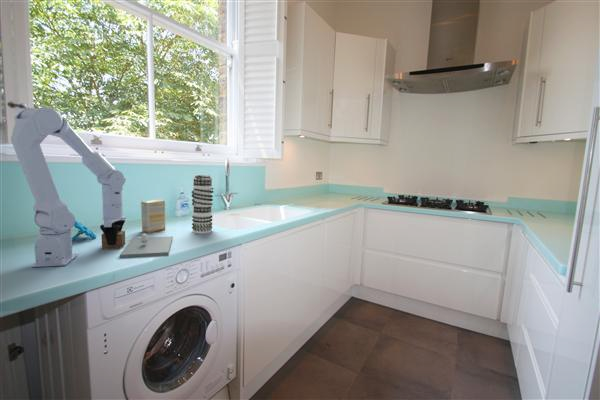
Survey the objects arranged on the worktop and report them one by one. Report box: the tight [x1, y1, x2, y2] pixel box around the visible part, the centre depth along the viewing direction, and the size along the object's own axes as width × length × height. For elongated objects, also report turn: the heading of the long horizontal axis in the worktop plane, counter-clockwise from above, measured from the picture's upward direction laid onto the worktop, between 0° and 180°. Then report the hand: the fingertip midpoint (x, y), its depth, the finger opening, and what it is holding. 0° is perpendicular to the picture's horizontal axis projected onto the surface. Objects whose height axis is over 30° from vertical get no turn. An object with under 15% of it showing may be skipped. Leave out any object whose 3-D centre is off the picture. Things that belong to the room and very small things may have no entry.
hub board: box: [119, 233, 173, 259], centre depth 103 cm, size 20×14×5 cm
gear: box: [71, 220, 97, 241], centre depth 108 cm, size 11×6×10 cm
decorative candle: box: [191, 174, 214, 234], centre depth 128 cm, size 9×9×25 cm
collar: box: [101, 230, 126, 250], centre depth 102 cm, size 5×6×5 cm
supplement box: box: [140, 199, 166, 233], centre depth 125 cm, size 8×5×13 cm, turn 149°
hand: (113, 242), depth 102 cm, fingers closed on collar, 5 cm apart
